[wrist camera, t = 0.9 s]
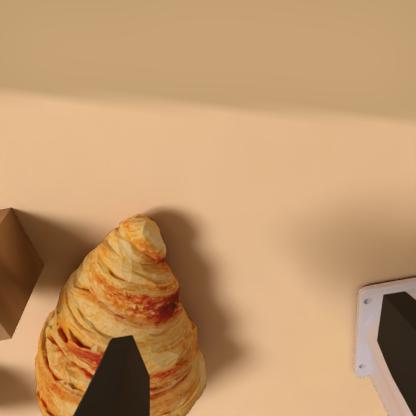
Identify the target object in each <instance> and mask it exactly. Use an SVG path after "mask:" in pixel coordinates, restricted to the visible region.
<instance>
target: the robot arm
mask: <svg viewBox="0 0 416 416" xmlns="http://www.w3.org/2000/svg"><path fill="white" fill-rule="evenodd" d="M354 373H355V376H356V377H359V378H362V377H368V376H370V378H371V381H372V383H373V385H374V387H375V389H376V391H377V393H378V396H379V398H380V400H381V402H382V404H383V406H384V408H385V411H386V413H387V415H388V416H416V277H414V278H409V279H403V280H398V281H392V282H386V283H381V284H375V285H369V286H365V287H363V288H361V289H360V290H359V292H358V306H357V323H356V340H355V357H354ZM73 416H150V376H149V373H148V371H147V369H146V366H145V364H144V361H143V359H142V357H141V354H140V352H139V349H138V347H137V344H136V342H135V340H134V337H133V335H129V336H122V337H116V338H112V339H111V340H110V341H109V343H108V345H107V347H106V350H105V352H104V354H103V356H102V358H101V361H100V363H99V365H98V367H97V369H96V371H95V373H94V375H93V377H92V379H91V381H90V383H89V385H88V388H87V390H86V391H85V393H84V395H83V397H82V399H81V401H80V403H79V405H78V407H77V409H76V411H75V413H74V414H73Z"/></svg>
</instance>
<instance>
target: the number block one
mask: <svg viewBox="0 0 416 416" xmlns="http://www.w3.org/2000/svg"><path fill="white" fill-rule="evenodd" d="M43 266H44V265H43V263H42V262H41V260H40V258H39V256H38V255H37V253H36V251H35V249H34V247H33V246H32V244H31V242H30V240H29V239H28V237H27V235H26V233H25V232H24V230H23V228H22V226H21V224H20V223H19V221H18V219H17V217H16V216H15V214H14V212H13V210H12V209H11V208H7V209H2V210H0V341H1V340H6V339H11V338H12V336H13V334H14V332H15V329H16V327H17V325H18V323H19V320H20V318H21V316H22V313H23V311H24V309H25V307H26V304H27V302H28V300H29V298H30V295H31V293H32V291H33V289H34V286H35V284H36V282H37V280H38V277H39V275H40V273H41V271H42V268H43Z"/></svg>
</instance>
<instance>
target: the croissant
mask: <svg viewBox="0 0 416 416" xmlns="http://www.w3.org/2000/svg"><path fill="white" fill-rule="evenodd" d="M165 258H166V245H165V243H164V242H163V239H162V236H161V234H160V229H159V227H158V226H157V224H156V223H155V222H154V221H152V220H150V219H149V218H148V217H147V216H145V215H139V214H138V215H135V216H133V217H130V218H128V219H126V220H124V221H123V222H121V223H119V227H118V228H115V229H114V230H112V231H111V232H110V233H109V234H108V236H107V237H106V238H105V239H104V240H103V241H102V243H101V244H100V245H99V246H97V247H96V248H95V249H94V250H92V251H91V252H90V253H89V254H88V255H87V256H86V257H85V258H84V260H83V262H82V264H81V265H80V266H79V268H78V269H76V270H75V271H74V272H73V273H72V274H71V275H70V277H69V278H68V280H67V281H66V283H65V285H64V286H63V288H62V290H61V292H60V296H59V301H58V304H57V307H56V309H55V310H54V311H52V312H51V313H50V314H49V316H48V317H47V319H46V321H45V323H44V325H43V328H42V331H41V334H40V339H39V343H38V352H37V356H36V358H35V379H36V382H37V389H36V396H37V399H38V404H39V407H40V410H41V413H42V415H43V416H73V414H74V413H75V411H76V409H77V407H78V405H79V403H80V401H81V399H82V397H83V395H84V393H85V391H86V390H87V388H88V385H89V383H90V381H91V379H92V377H93V375H94V373H95V371H96V369H97V367H98V365H99V363H100V361H101V358H102V356H103V354H104V352H105V350H106V347H107V345H108V343H109V341H110V340H111V339H112V338H116V337H122V336H129V335H133V337H134V340H135V342H136V344H137V347H138V349H139V352H140V354H141V357H142V359H143V361H144V364H145V366H146V369H147V371H148V373H149V376H150V416H186V415H187V414H188V413H189V411H190V410H191V408H192V407H193V405H194V404H195V402H196V401H197V400H198V399H199V397H200V396H201V395H202V393H203V391H204V389H205V387H206V381H207V372H206V367H205V357H204V356H203V355H202V353H201V352H200V350H199V348H198V346H197V344H198V342H197V326H196V325H195V324H194V322H193V321H192V320H189V319H188V316H187V314H186V311H185V309H184V308H183V307H182V305H181V300H180V285H179V282H178V280H177V279H176V278H175V276H174V274H173V273H172V271H171V269H170V268H169V266H168V264H166V262H165V261H164V259H165Z"/></svg>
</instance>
